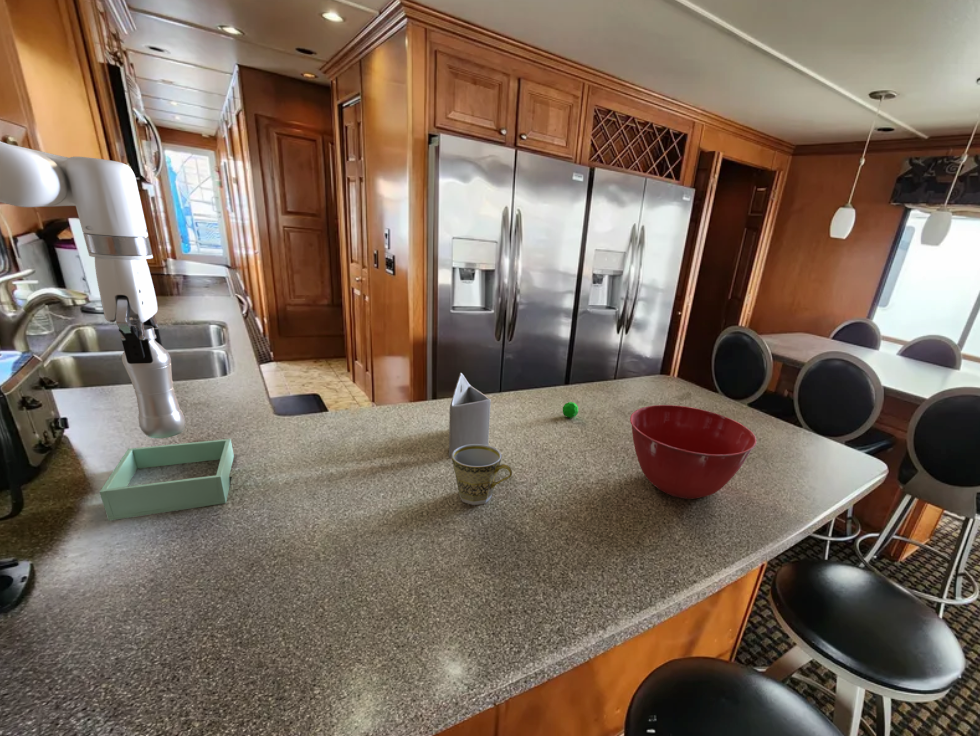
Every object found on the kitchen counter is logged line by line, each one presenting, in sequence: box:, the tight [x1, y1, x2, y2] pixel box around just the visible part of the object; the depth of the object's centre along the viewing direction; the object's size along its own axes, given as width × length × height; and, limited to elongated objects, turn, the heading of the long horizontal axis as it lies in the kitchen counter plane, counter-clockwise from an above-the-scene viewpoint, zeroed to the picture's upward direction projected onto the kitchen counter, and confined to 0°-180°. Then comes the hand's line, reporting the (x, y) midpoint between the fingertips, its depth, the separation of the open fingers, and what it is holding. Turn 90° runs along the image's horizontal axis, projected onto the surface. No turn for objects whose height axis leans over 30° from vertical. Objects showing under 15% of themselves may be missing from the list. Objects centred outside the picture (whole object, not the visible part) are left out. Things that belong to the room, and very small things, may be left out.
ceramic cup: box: [451, 444, 513, 506], centre depth 95 cm, size 13×10×10 cm
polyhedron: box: [562, 401, 579, 419], centre depth 143 cm, size 5×5×5 cm
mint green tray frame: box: [99, 438, 235, 522], centre depth 88 cm, size 17×17×6 cm
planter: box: [448, 372, 492, 459], centre depth 115 cm, size 16×8×19 cm, turn 175°
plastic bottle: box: [121, 325, 186, 439], centre depth 81 cm, size 6×7×20 cm
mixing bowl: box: [629, 404, 757, 500], centre depth 108 cm, size 28×28×16 cm
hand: (146, 356), depth 79 cm, fingers closed on plastic bottle, 6 cm apart
